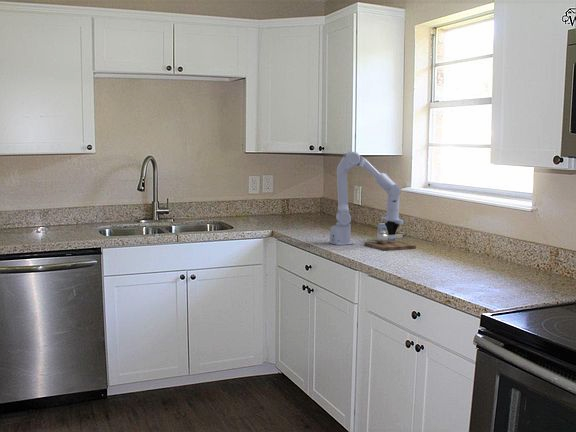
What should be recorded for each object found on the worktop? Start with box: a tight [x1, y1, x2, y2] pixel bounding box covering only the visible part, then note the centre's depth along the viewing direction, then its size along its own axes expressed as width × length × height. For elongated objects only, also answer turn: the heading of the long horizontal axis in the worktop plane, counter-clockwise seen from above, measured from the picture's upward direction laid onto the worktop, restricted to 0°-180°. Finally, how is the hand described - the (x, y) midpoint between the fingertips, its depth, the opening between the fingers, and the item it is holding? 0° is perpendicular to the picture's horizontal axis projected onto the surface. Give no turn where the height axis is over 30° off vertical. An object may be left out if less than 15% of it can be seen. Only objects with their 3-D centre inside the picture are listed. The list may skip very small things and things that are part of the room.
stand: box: [363, 239, 417, 252], centre depth 311 cm, size 18×16×2 cm
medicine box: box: [376, 222, 396, 241], centre depth 330 cm, size 8×4×9 cm, turn 105°
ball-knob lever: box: [376, 231, 406, 244], centre depth 314 cm, size 16×5×6 cm, turn 119°
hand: (391, 237), depth 318 cm, fingers closed
